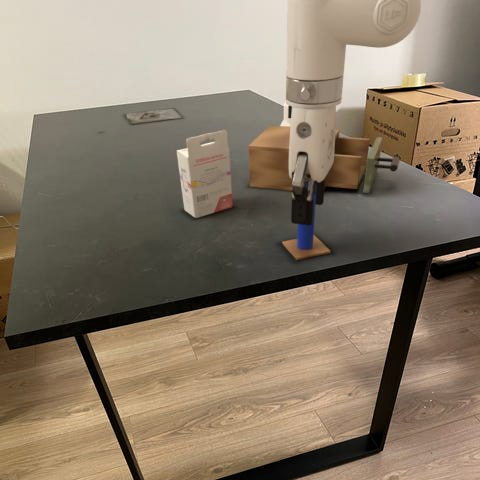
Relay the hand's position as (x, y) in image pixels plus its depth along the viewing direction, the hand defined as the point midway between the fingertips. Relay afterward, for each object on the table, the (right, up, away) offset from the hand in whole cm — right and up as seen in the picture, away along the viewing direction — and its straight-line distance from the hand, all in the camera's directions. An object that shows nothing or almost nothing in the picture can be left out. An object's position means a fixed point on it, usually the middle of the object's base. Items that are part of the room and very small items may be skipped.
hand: (307, 212), depth 74 cm
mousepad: (-42, +45, +72) cm, 95 cm away
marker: (0, -5, +4) cm, 6 cm away
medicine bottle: (+3, +24, +42) cm, 49 cm away
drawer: (+12, +13, +25) cm, 31 cm away
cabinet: (+1, +14, +29) cm, 32 cm away
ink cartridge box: (-17, +5, +18) cm, 25 cm away
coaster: (0, -5, +4) cm, 6 cm away
